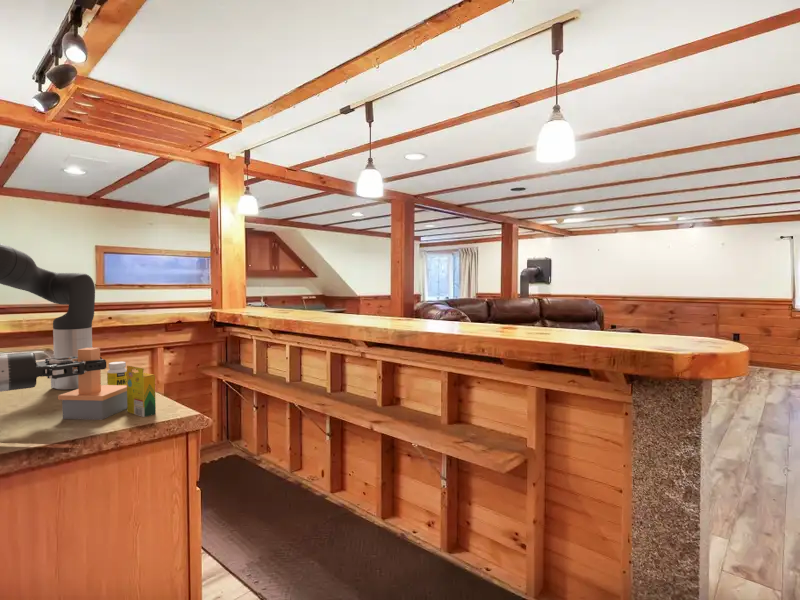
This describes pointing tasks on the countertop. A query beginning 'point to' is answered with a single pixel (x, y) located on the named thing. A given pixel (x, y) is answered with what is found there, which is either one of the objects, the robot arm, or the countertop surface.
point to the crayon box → (140, 392)
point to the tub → (94, 407)
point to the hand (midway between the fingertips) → (103, 362)
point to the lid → (92, 381)
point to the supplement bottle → (117, 373)
